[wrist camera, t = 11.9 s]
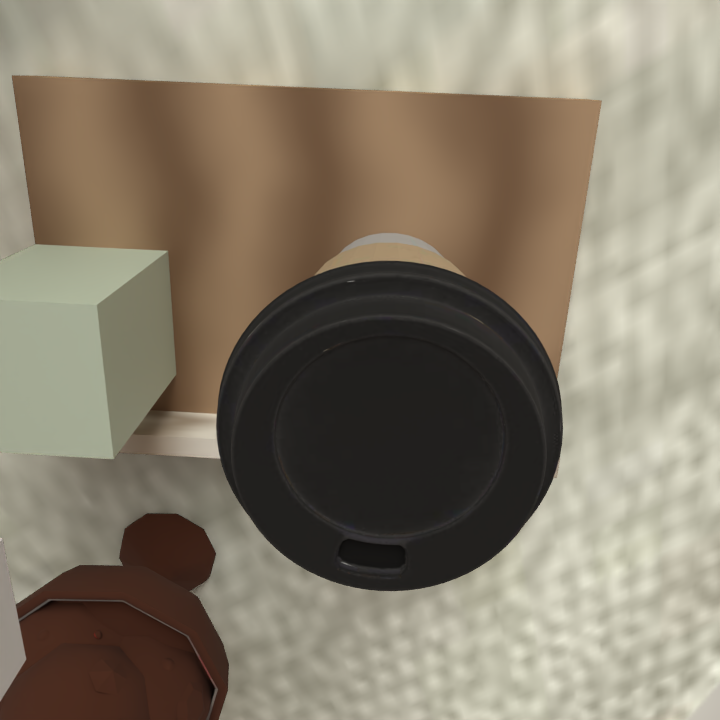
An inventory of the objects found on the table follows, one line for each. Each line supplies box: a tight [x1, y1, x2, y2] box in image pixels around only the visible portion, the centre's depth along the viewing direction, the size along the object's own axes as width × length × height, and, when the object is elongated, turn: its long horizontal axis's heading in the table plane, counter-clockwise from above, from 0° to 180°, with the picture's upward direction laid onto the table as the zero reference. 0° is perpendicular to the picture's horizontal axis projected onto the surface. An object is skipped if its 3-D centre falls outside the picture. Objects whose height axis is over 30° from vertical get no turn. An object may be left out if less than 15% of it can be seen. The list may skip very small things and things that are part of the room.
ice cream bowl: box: [0, 514, 229, 720], centre depth 33 cm, size 11×11×15 cm
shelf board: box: [12, 76, 602, 478], centre depth 31 cm, size 24×16×4 cm
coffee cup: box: [216, 233, 563, 591], centre depth 24 cm, size 9×9×15 cm
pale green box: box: [0, 244, 176, 459], centre depth 28 cm, size 6×6×8 cm
